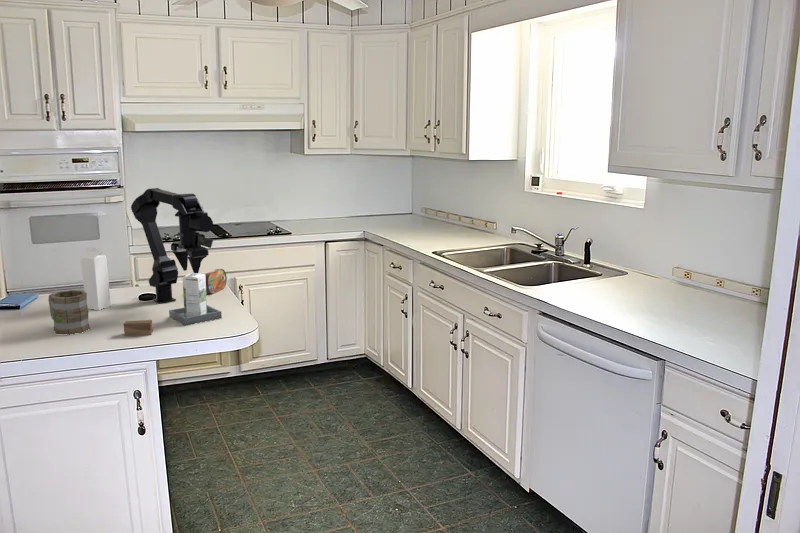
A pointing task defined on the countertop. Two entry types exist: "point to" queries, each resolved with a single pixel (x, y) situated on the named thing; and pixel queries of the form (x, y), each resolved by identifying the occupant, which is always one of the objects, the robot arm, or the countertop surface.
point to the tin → (215, 281)
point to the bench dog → (138, 327)
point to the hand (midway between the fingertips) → (190, 272)
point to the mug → (69, 311)
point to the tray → (179, 316)
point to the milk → (95, 279)
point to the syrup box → (194, 294)
